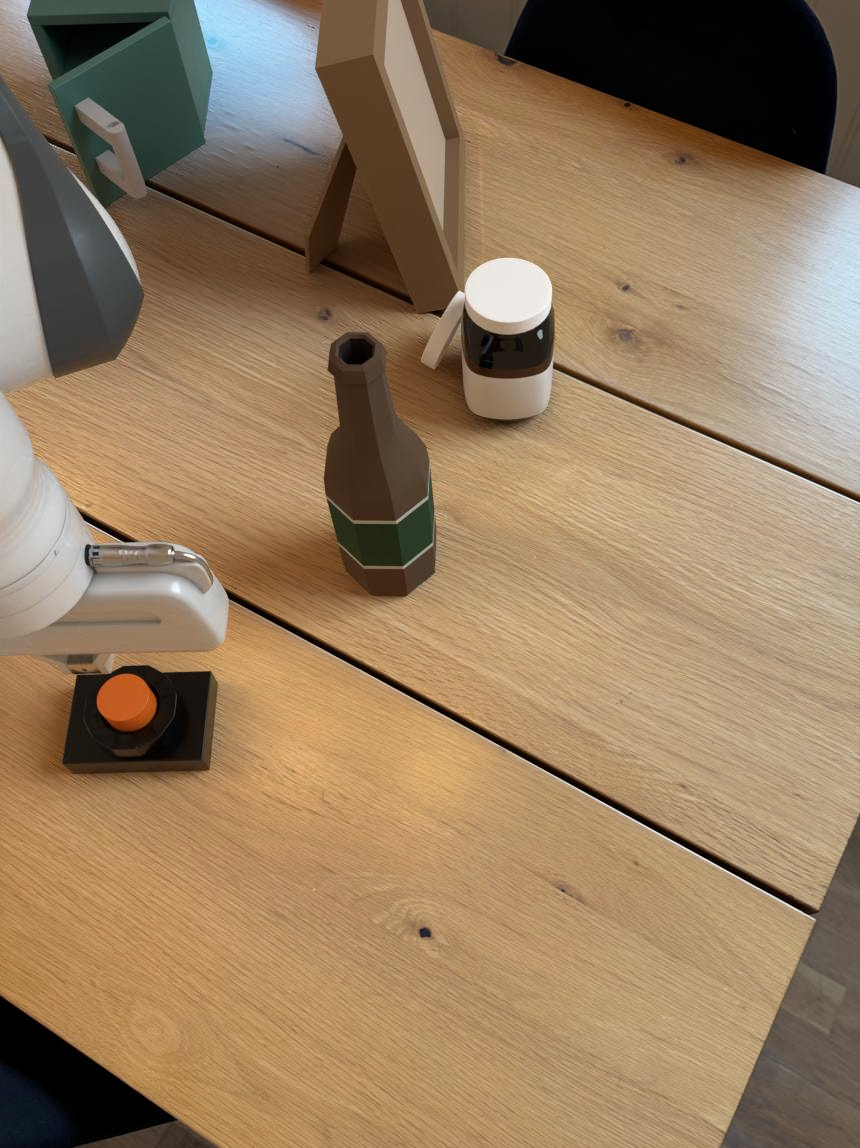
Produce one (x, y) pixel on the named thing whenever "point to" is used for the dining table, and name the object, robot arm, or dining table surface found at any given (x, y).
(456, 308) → the spread jar
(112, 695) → the orange button
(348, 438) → the beer bottle
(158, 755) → the button panel
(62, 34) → the minifridge
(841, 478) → the dining table surface
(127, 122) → the fridge door
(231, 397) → the dining table surface
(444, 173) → the photo frame
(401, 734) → the dining table surface
